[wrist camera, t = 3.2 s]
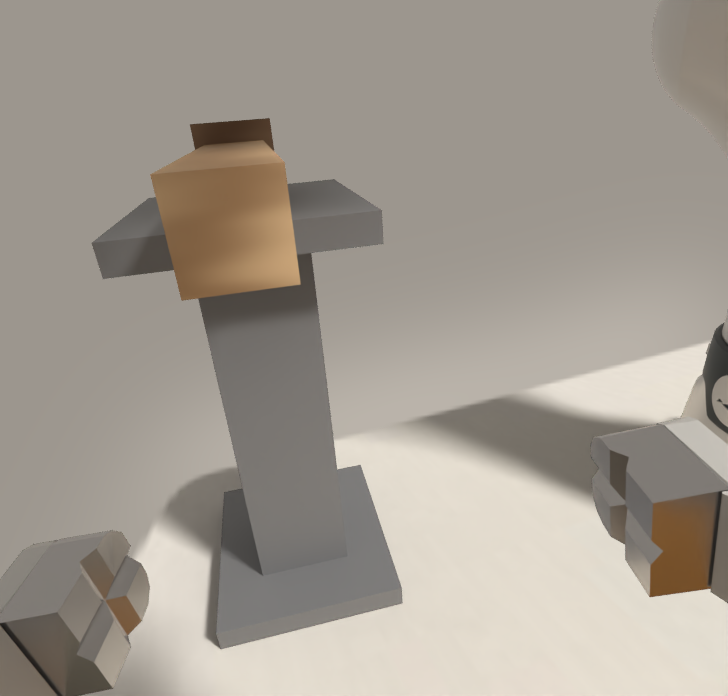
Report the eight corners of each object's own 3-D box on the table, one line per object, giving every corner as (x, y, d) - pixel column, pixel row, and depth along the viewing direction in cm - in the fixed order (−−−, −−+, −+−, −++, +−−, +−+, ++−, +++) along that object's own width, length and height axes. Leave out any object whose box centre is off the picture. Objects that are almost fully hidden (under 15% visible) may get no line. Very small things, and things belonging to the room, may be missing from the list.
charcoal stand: (361, 477, 44) (334, 179, 33) (402, 602, 33) (381, 210, 21) (227, 505, 42) (149, 197, 31) (220, 649, 31) (91, 243, 19)
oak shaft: (276, 189, 30) (266, 118, 29) (319, 281, 13) (300, 113, 11) (211, 195, 30) (197, 124, 28) (160, 303, 12) (113, 127, 10)
